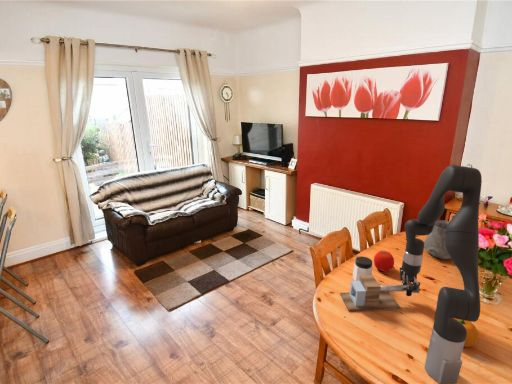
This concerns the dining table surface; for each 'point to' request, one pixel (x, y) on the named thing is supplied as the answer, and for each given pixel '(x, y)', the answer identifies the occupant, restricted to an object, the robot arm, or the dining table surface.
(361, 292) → the block
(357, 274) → the jar
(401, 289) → the shaft
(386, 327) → the dining table surface
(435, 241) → the vessel
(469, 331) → the fruit
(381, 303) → the bearing block
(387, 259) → the tomato
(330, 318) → the dining table surface
